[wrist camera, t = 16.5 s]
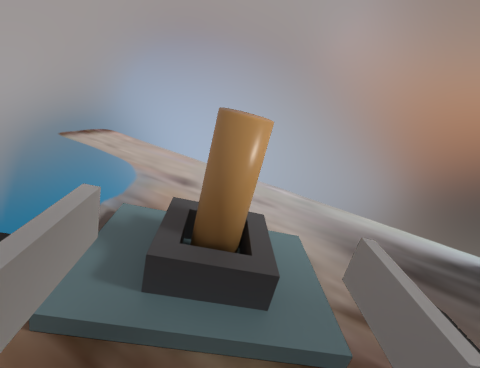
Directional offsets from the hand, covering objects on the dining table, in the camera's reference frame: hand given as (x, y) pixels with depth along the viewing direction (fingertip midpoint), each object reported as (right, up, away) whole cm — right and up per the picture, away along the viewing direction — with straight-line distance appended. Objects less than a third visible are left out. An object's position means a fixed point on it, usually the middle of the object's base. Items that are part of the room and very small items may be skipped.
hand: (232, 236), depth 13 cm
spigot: (-2, -5, +12) cm, 13 cm away
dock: (-3, -6, +13) cm, 14 cm away
